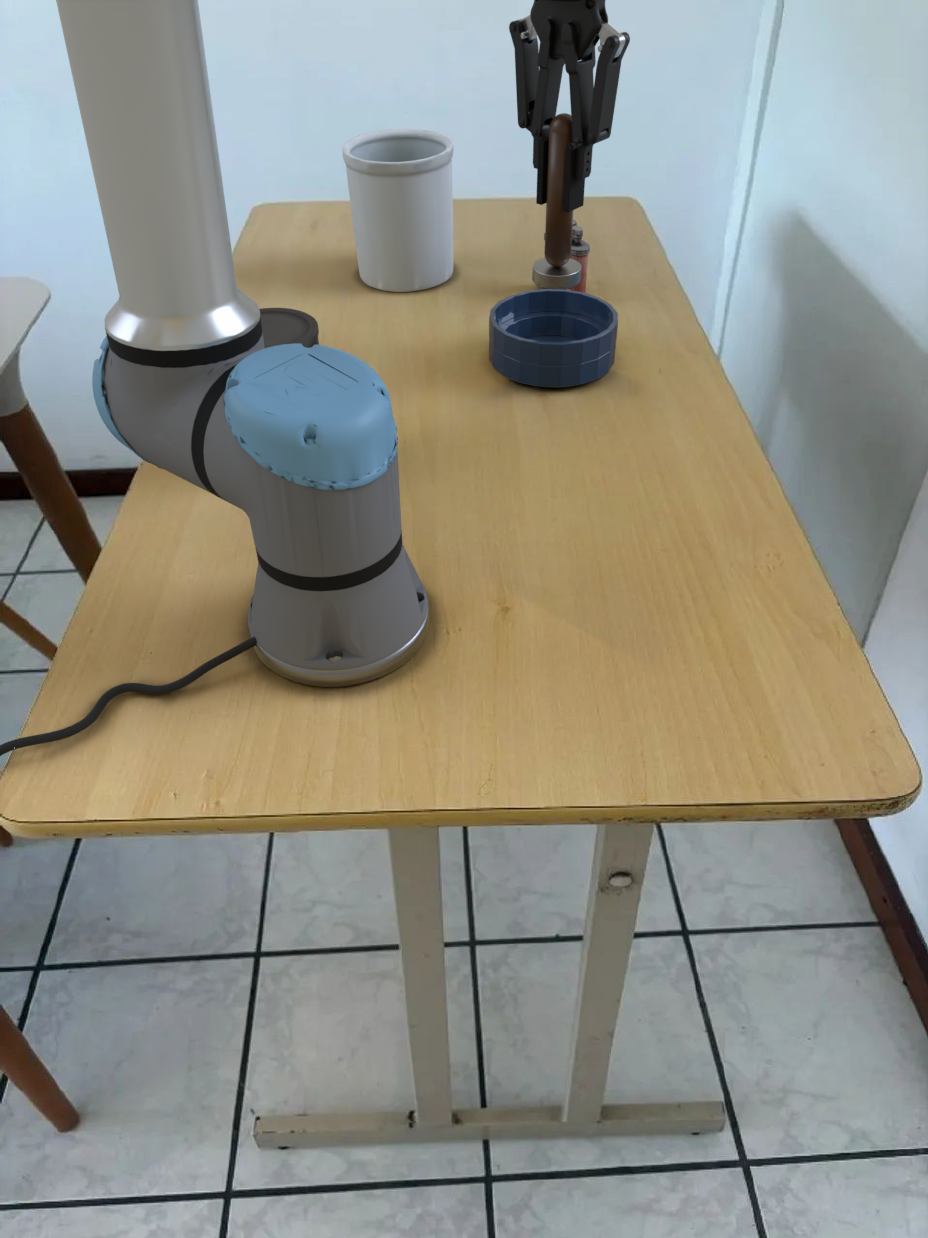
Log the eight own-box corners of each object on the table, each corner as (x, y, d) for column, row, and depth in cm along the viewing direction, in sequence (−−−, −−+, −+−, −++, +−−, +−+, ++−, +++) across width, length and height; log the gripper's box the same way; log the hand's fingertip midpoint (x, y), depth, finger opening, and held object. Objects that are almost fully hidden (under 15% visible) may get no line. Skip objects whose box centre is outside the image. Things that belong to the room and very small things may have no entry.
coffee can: (263, 422, 108) (242, 301, 99) (348, 435, 106) (334, 313, 96) (219, 470, 101) (192, 345, 91) (309, 485, 98) (290, 358, 89)
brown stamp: (560, 293, 108) (569, 124, 96) (522, 280, 111) (526, 114, 99) (590, 278, 111) (602, 112, 100) (552, 266, 114) (559, 103, 102)
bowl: (562, 405, 110) (565, 356, 106) (464, 365, 118) (463, 318, 114) (637, 358, 118) (643, 311, 114) (541, 323, 126) (542, 278, 122)
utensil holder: (382, 303, 131) (372, 168, 120) (337, 267, 141) (324, 138, 129) (474, 280, 137) (474, 148, 125) (425, 247, 146) (420, 122, 135)
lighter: (592, 300, 131) (597, 226, 124) (572, 306, 130) (577, 232, 123) (555, 281, 136) (558, 209, 129) (536, 287, 135) (539, 214, 128)
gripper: (666, -53, 88) (640, 211, 104) (530, -66, 96) (524, 180, 112) (619, -42, 84) (599, 231, 99) (481, -57, 92) (482, 197, 107)
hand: (559, 203), depth 105 cm, fingers closed on brown stamp, 3 cm apart
